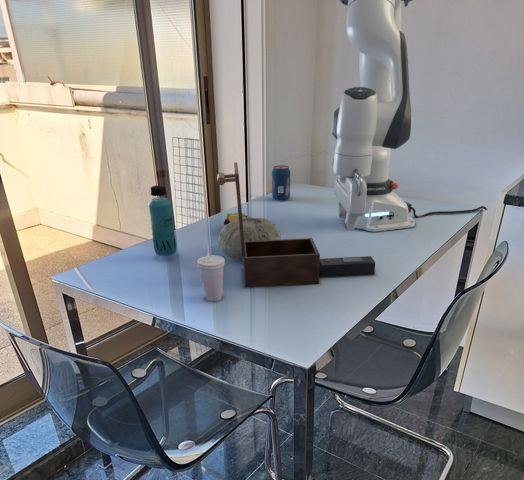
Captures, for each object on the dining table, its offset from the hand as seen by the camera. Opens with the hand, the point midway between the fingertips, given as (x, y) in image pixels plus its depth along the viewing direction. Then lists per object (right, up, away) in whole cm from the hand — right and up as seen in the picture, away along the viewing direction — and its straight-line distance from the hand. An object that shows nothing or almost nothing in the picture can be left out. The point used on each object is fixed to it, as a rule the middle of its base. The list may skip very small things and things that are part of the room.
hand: (345, 223), depth 125 cm
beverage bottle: (-48, -5, +20) cm, 53 cm away
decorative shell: (-24, -5, +19) cm, 31 cm away
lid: (-26, +2, -4) cm, 26 cm away
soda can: (-14, +27, +69) cm, 75 cm away
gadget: (-29, +8, +39) cm, 50 cm away
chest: (-16, -12, +6) cm, 21 cm away
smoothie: (-32, -19, -4) cm, 38 cm away
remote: (+1, -11, +7) cm, 13 cm away
